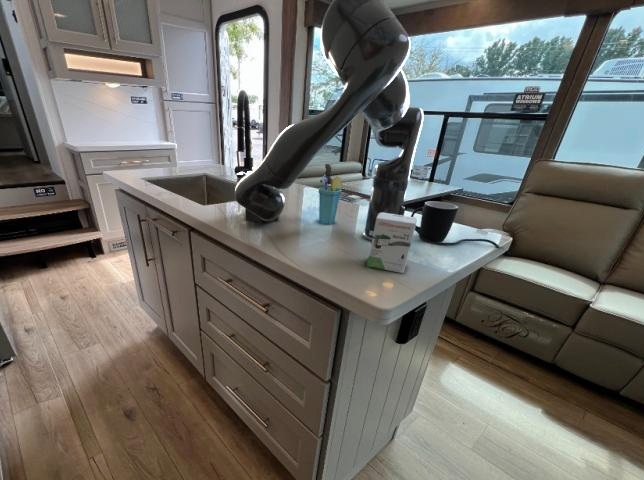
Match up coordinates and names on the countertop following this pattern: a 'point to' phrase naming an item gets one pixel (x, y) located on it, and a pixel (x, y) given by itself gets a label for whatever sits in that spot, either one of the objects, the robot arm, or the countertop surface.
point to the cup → (329, 200)
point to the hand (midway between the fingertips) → (262, 174)
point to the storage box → (254, 217)
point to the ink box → (391, 242)
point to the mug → (436, 220)
